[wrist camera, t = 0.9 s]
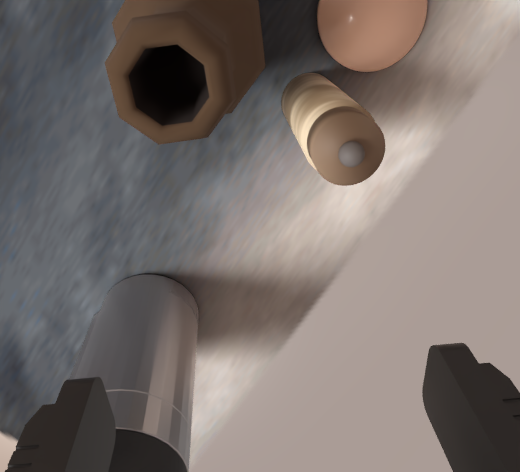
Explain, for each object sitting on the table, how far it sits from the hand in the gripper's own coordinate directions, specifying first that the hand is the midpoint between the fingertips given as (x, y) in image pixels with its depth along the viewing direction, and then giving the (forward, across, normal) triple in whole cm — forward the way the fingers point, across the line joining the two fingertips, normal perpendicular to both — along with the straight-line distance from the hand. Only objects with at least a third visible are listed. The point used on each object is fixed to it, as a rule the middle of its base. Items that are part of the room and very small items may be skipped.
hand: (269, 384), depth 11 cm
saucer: (+29, +10, +6) cm, 31 cm away
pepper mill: (+29, +6, 0) cm, 29 cm away
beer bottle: (+29, -2, +6) cm, 30 cm away
